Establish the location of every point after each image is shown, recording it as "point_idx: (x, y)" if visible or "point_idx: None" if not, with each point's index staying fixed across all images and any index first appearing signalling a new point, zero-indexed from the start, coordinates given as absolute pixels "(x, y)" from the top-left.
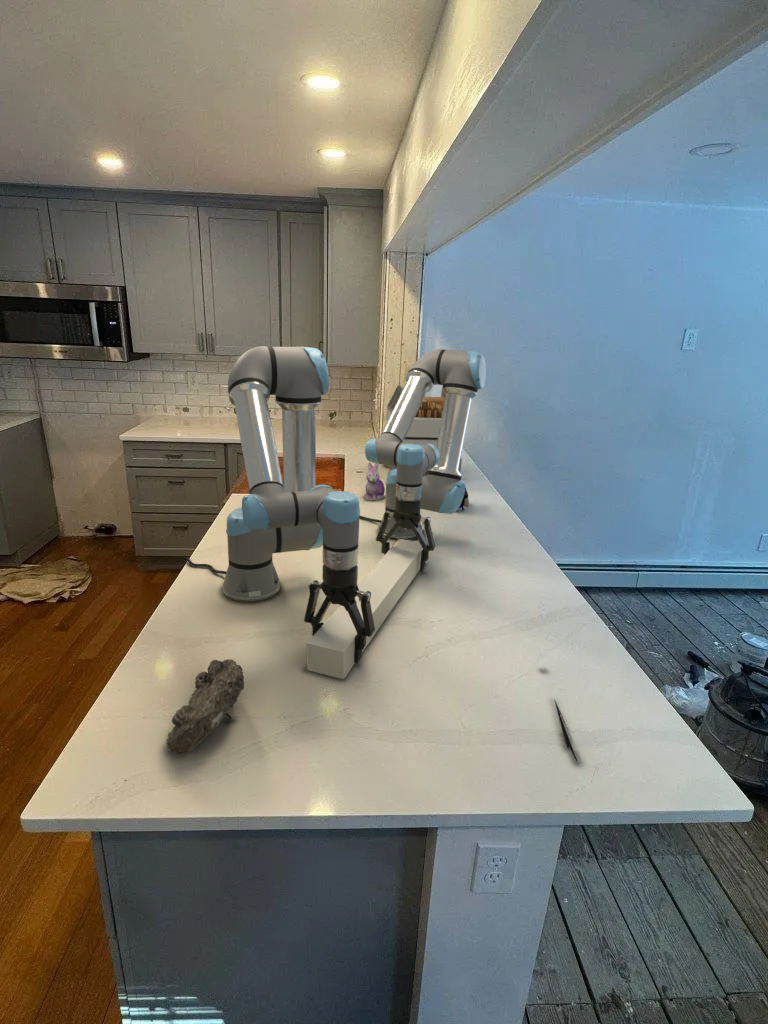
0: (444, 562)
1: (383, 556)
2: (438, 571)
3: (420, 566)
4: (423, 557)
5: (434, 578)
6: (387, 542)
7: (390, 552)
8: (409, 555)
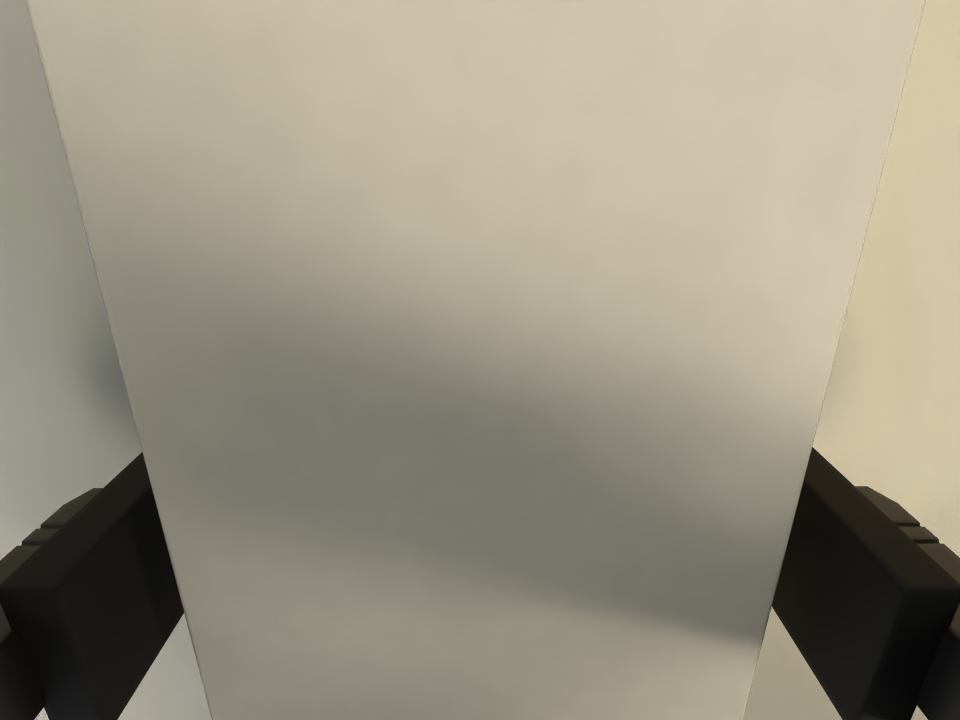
0: (178, 694)
1: (916, 19)
2: None
3: None
4: (95, 515)
5: (82, 350)
6: (903, 717)
7: (751, 363)
8: (275, 389)
